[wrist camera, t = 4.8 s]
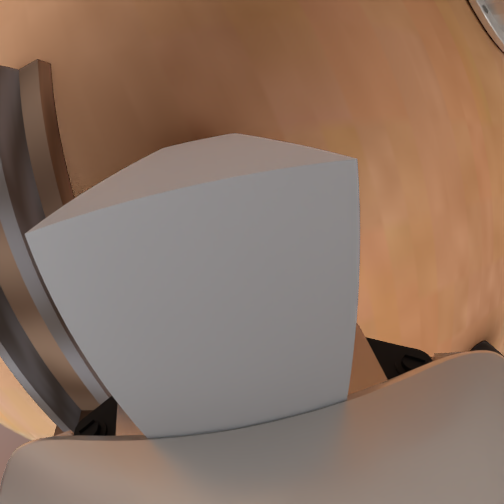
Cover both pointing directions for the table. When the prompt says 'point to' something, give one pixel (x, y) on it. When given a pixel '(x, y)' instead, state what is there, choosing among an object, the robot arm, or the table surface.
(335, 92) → the table surface
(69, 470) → the robot arm
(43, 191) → the wooden display stand
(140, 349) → the plain gray box
